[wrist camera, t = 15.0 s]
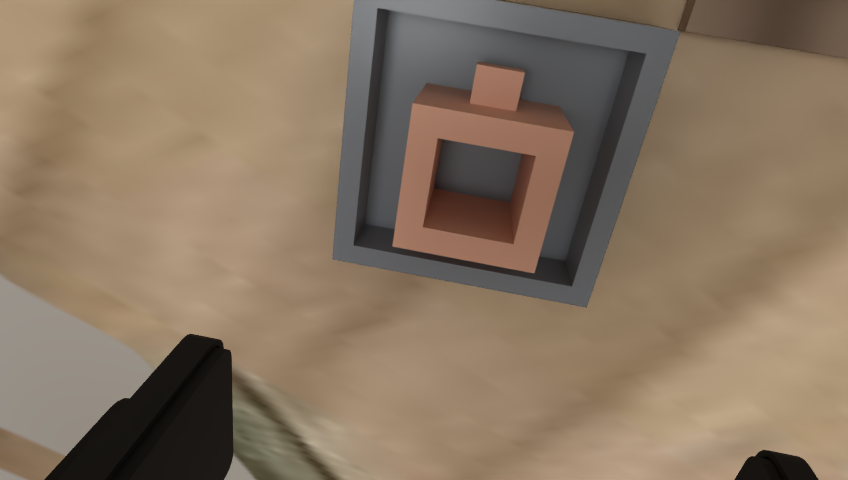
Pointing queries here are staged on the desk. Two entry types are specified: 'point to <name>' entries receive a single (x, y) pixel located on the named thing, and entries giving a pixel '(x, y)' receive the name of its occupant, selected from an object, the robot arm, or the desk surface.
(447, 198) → the ring
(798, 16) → the board
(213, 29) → the desk surface
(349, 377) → the desk surface
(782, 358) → the desk surface
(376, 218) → the tray
